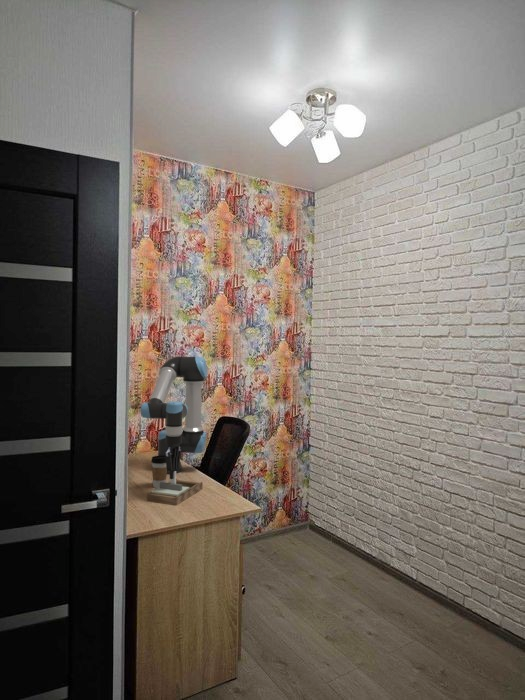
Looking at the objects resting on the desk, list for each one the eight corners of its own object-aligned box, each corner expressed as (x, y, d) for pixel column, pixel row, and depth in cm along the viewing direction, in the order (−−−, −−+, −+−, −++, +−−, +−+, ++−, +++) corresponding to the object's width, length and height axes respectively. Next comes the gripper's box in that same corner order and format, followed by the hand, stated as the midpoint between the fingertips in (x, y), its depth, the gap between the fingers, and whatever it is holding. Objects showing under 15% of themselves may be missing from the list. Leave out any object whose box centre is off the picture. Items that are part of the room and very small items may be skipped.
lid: (165, 485, 232) (165, 478, 232) (189, 488, 228) (189, 482, 228) (151, 492, 221) (151, 485, 221) (176, 496, 217) (177, 488, 217)
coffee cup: (163, 489, 237) (164, 458, 237) (147, 487, 239) (148, 457, 239) (170, 484, 246) (171, 455, 246) (154, 483, 247) (155, 454, 247)
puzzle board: (175, 485, 244) (175, 478, 244) (202, 489, 239) (202, 482, 239) (147, 500, 219) (147, 493, 219) (176, 505, 214) (176, 497, 214)
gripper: (173, 432, 233) (172, 480, 233) (159, 436, 221) (158, 488, 221) (187, 433, 231) (186, 482, 231) (174, 437, 218) (172, 490, 218)
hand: (172, 485), depth 226 cm, fingers closed
